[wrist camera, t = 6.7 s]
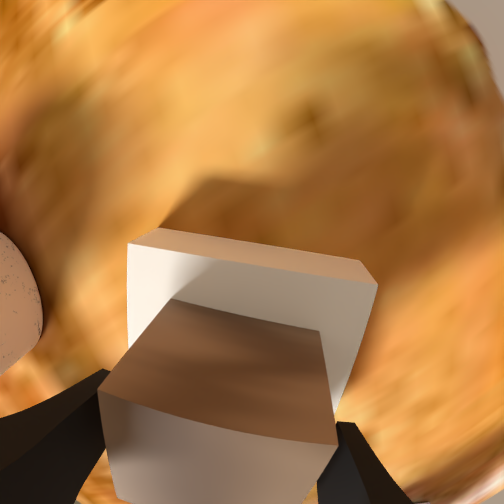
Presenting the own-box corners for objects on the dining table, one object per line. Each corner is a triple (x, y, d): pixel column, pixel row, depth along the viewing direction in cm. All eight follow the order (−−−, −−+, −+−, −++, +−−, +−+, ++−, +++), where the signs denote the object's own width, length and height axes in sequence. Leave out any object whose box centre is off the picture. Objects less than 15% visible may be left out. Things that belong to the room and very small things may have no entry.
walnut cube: (319, 330, 11) (338, 445, 6) (282, 432, 13) (277, 536, 7) (170, 298, 11) (97, 389, 6) (162, 405, 13) (117, 497, 8)
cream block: (357, 257, 14) (378, 284, 11) (313, 409, 16) (316, 454, 13) (161, 225, 14) (127, 243, 11) (157, 380, 17) (134, 420, 14)
